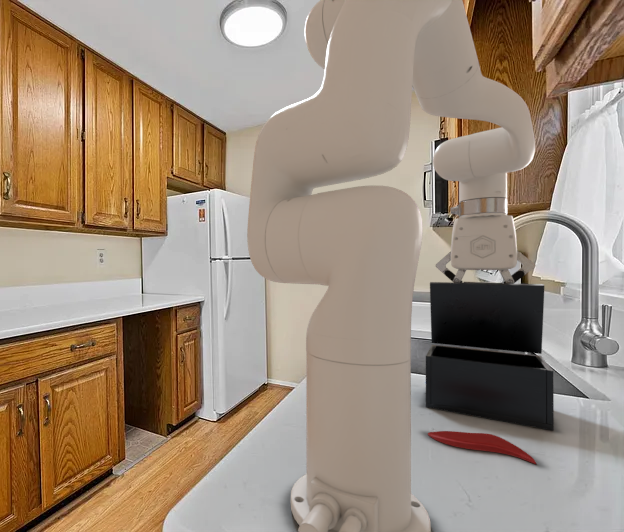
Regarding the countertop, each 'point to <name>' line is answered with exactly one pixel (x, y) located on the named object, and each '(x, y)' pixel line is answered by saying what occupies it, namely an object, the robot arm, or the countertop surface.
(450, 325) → the bin lid
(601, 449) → the countertop surface
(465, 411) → the bin
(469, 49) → the robot arm
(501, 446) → the cayenne pepper
